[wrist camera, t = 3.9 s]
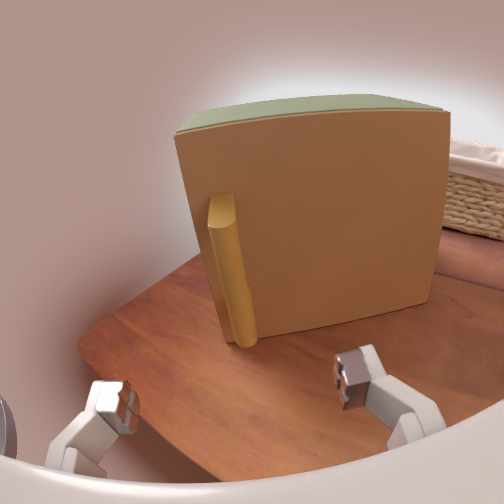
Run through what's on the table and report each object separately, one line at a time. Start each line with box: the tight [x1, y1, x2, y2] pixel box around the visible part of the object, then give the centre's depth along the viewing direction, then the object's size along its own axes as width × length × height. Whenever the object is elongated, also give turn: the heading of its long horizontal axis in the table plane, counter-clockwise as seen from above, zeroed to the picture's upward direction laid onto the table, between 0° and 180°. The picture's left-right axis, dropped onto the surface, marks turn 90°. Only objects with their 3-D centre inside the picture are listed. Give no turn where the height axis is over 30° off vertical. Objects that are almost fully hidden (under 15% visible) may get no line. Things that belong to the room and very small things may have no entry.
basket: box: [442, 138, 504, 240], centre depth 50 cm, size 24×16×15 cm
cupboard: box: [176, 94, 443, 133], centre depth 39 cm, size 18×26×24 cm
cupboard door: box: [174, 109, 450, 348], centre depth 28 cm, size 8×26×24 cm, turn 95°
